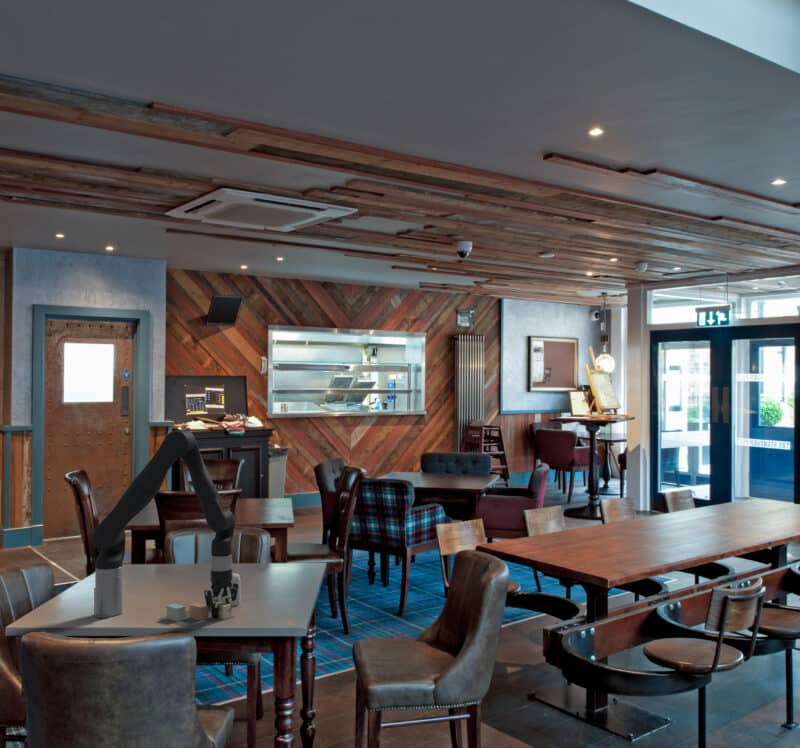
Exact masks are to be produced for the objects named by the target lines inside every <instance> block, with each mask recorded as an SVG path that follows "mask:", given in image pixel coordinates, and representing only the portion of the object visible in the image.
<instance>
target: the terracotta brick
mask: <svg viewBox="0 0 800 748" xmlns="http://www.w3.org/2000/svg"><path fill="white" fill-rule="evenodd" d="M188 606H189V608H188V611H189V618H193V619H196V620H200V621H201V620H204V619H208V610H209V606H207V605H206V603H200V602H195V603H191V604H189V605H188Z"/></svg>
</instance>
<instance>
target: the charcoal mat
mask: <svg viewBox="0 0 800 748" xmlns="http://www.w3.org/2000/svg"><path fill="white" fill-rule="evenodd" d="M211 614H212V613H211V609H208V619H204V620H201V621H200V620H196V619H193V618H189V610H185V620H181V621H178V622H177V621H173V620H170V619H167V616H164V617H161V618H157V620H158V621H162V622H167V623H169V624H173V625H176V626H180V627H183V628H188V629H189V630H194V631H195V630H198V629H201V628H204V627H208V626H211V625H214V624H217V623H220V622H224V621H227V620H230V619H234V618H235V616H233V615H231V617H230V618H227V619H224V620H223V619H219V618H216V619H215V618H213V617H212V615H211Z"/></svg>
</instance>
